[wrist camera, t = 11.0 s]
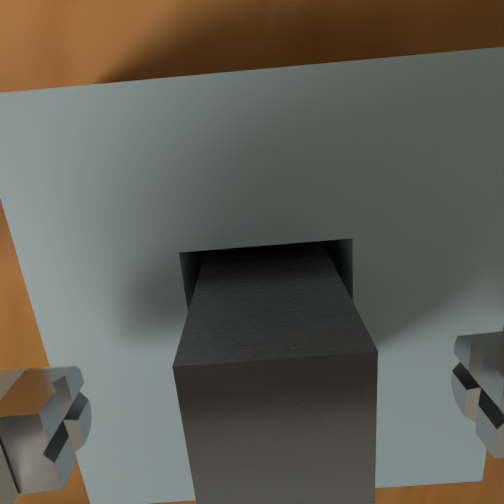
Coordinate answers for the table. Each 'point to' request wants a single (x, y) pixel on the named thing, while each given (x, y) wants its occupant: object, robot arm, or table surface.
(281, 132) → the socket block
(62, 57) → the table surface
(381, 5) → the table surface
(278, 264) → the square bit
